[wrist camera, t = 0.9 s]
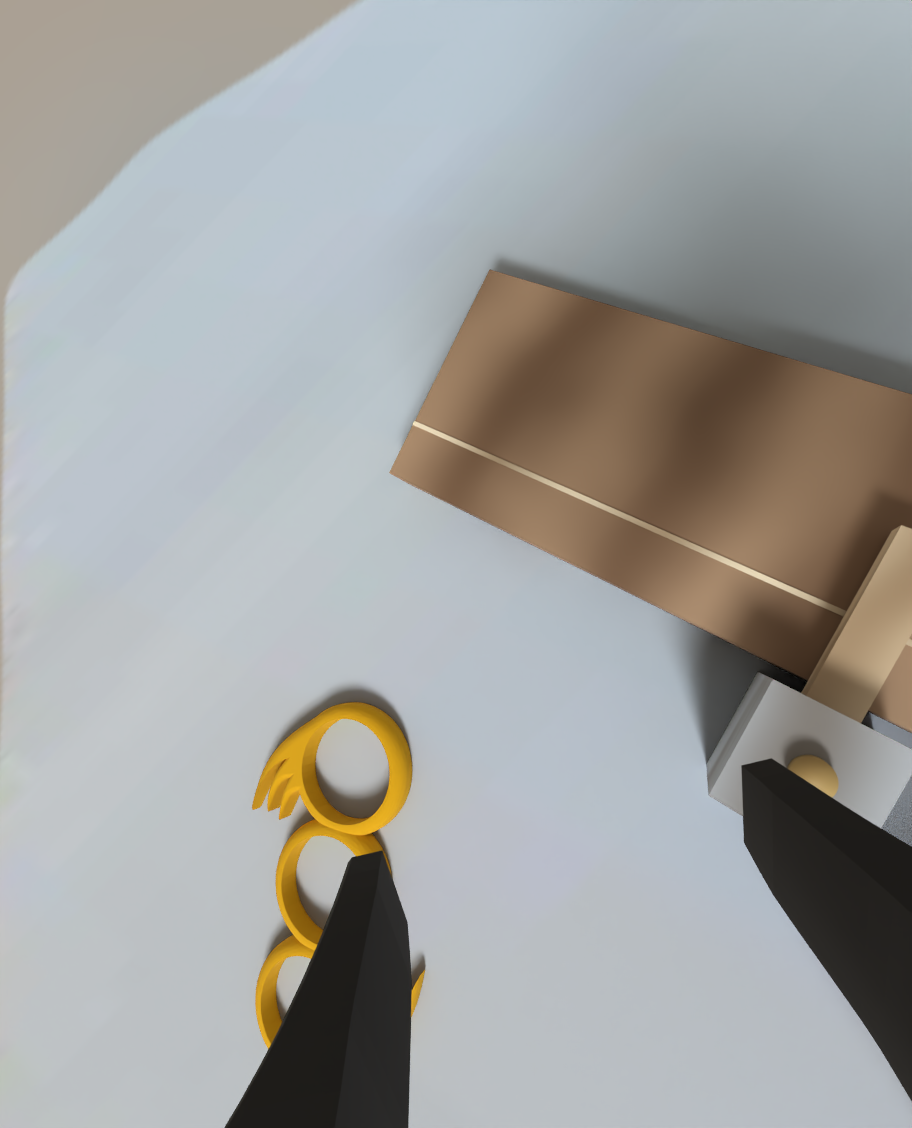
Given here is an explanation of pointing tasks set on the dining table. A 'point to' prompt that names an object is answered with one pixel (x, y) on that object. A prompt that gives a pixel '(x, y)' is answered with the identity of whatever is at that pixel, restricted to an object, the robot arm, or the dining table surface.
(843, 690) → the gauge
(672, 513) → the board
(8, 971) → the dining table surface
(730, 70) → the dining table surface
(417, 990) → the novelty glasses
